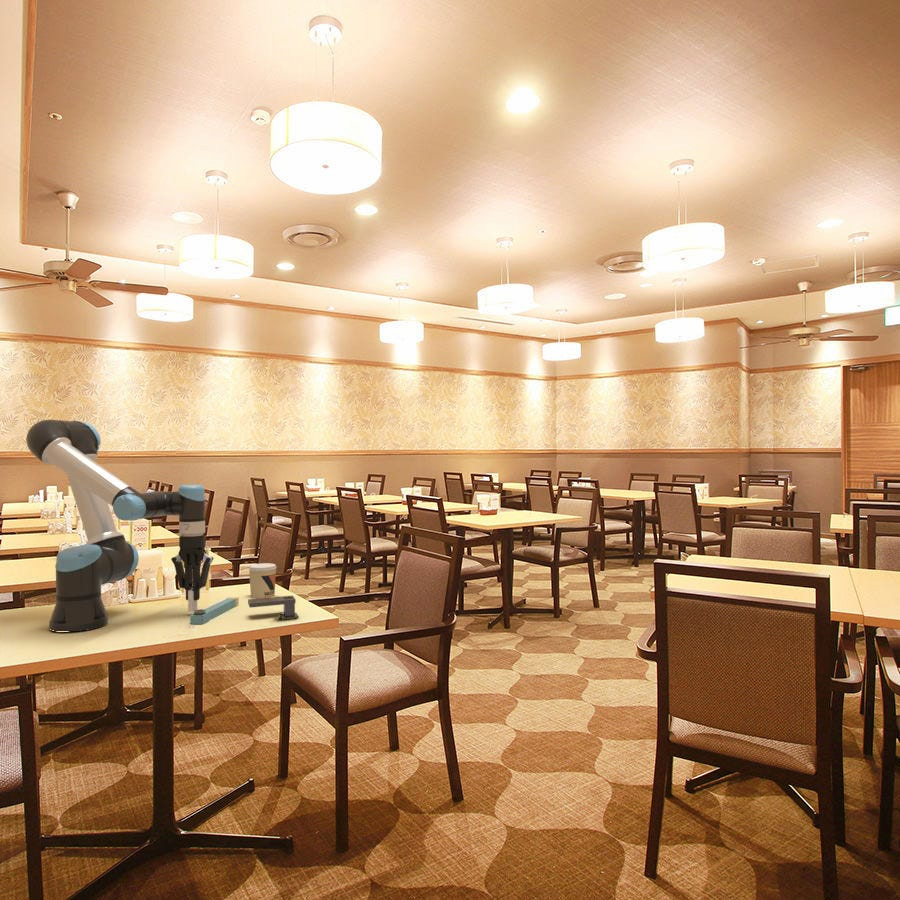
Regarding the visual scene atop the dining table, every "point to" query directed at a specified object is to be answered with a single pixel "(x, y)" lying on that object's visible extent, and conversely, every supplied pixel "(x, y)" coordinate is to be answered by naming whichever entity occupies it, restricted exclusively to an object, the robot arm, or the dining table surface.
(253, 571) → the coffee cup
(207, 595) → the dining table surface
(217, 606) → the swing link
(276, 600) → the bracket
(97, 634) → the dining table surface
